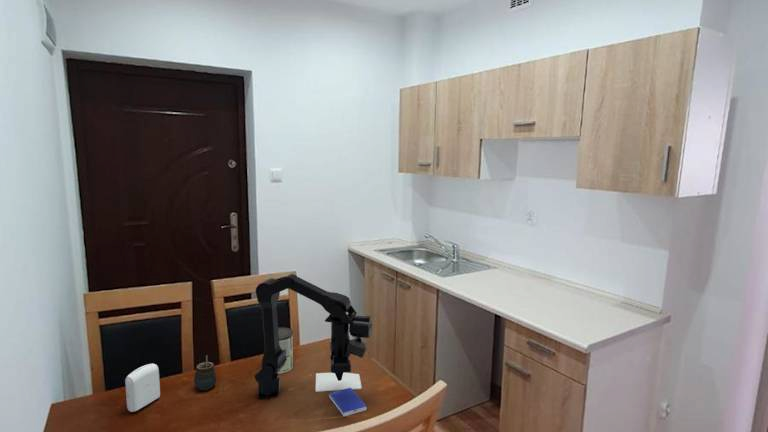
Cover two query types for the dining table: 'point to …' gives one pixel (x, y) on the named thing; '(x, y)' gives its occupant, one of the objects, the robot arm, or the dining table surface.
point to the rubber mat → (337, 382)
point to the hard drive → (347, 401)
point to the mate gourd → (205, 375)
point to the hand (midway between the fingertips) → (339, 380)
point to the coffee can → (286, 347)
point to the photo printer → (142, 387)
